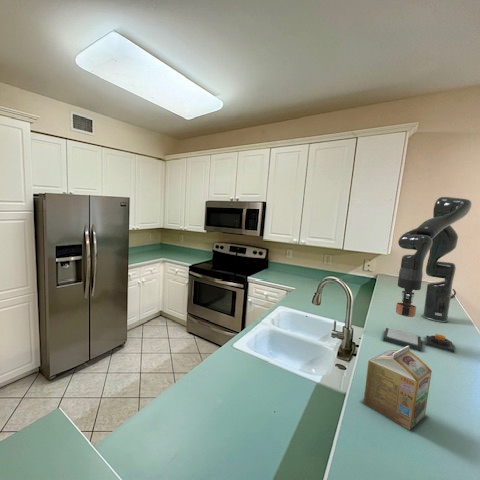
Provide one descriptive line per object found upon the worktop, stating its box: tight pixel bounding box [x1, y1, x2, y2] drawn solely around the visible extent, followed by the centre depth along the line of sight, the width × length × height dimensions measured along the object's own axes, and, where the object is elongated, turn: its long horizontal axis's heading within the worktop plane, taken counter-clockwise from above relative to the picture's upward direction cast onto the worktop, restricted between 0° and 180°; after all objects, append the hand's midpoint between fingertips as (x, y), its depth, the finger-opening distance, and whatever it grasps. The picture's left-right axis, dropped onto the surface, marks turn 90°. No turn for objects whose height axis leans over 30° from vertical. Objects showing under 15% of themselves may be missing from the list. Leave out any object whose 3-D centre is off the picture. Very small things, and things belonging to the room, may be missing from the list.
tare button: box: [434, 333, 447, 341], centre depth 112 cm, size 3×3×2 cm
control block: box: [425, 335, 455, 353], centre depth 113 cm, size 10×8×3 cm
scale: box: [382, 327, 422, 352], centre depth 116 cm, size 14×12×3 cm
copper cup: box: [395, 302, 417, 318], centre depth 115 cm, size 6×6×5 cm
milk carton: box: [363, 346, 432, 431], centre depth 73 cm, size 11×10×19 cm
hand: (405, 313), depth 115 cm, fingers closed on copper cup, 6 cm apart
